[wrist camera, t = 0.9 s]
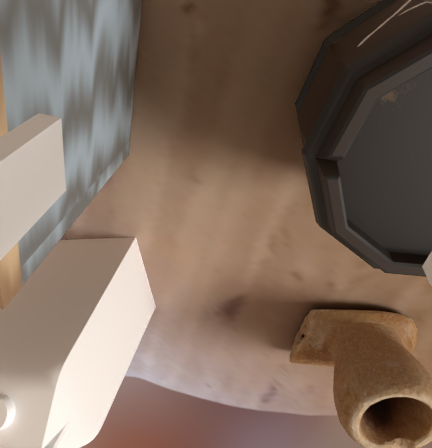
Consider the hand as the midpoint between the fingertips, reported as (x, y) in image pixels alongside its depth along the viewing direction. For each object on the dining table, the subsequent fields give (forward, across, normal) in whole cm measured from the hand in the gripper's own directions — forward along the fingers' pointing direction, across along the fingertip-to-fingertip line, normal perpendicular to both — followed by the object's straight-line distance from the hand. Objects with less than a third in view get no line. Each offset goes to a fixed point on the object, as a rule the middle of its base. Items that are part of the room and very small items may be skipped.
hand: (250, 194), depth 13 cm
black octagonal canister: (+26, +12, -2) cm, 29 cm away
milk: (+26, -15, -31) cm, 43 cm away
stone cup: (+26, +18, -30) cm, 44 cm away
